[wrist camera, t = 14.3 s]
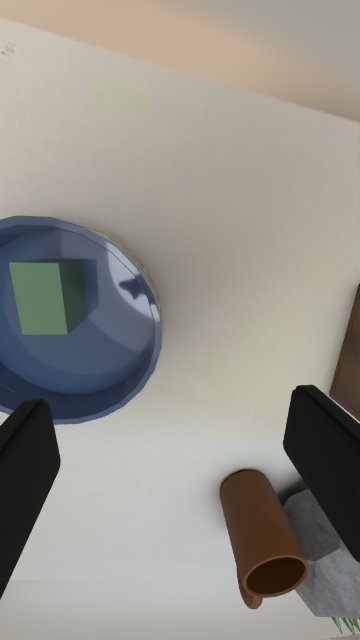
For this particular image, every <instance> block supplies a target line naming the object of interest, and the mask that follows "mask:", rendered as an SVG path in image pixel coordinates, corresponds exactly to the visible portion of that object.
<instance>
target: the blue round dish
mask: <svg viewBox="0 0 360 640" xmlns="http://www.w3.org/2000/svg"><path fill="white" fill-rule="evenodd" d="M43 259H44V260H81V261H82V271H83V281H84V291H85V302H86V312H87V317H86V318H85V319H84V320H83V321H82V322H81V323H80V324H79V325H77V326H76V327H75V328H74V329H73V330H72V331H71V332H70V333H69V334H67V335H22V330H21V325H20V320H19V315H18V309H17V304H16V299H15V294H14V289H13V283H12V278H11V273H10V268H9V262H16V261H30V260H43ZM160 350H161V309H160V305H159V301H158V297H157V294H156V290H155V288H154V286H153V284H152V282H151V280H150V278H149V276H148V275H147V273H146V272H145V270H144V268H143V267H142V265H141V264H140V263H139V262H138V261H137V260H136V259H135V258H134V256H132V255H131V254H130V253H129V252H128V251H127V250H126V249H125V248H124V247H123V246H121V245H120V244H118V243H116V242H115V241H114V240H112V239H110V238H108V237H106V236H105V235H103V234H102V233H100V232H97V231H94V230H91V229H88V228H85V227H82V226H78V225H75V224H72V223H69V222H66V221H62V220H59V219H56V218H52V217H36V216H13V217H9V218H5V219H1V220H0V411H1V412H4V413H6V414H9V415H11V414H12V413H13V411H14V410H15V409H16V408H17V407H18V406H19V405H20V404H21V403H22V402H23V401H24V400H34V399H43V400H44V401H45V403H49V405H50V409H51V414H52V419H53V424H54V425H59V424H78V423H83V422H87V421H91V420H94V419H98V418H102V417H104V416H106V415H108V414H110V413H112V412H114V411H116V410H118V409H120V408H122V407H123V406H125V405H126V404H127V403H128V402H129V401H130V400H131V399H132V398H134V397H135V396H136V395H137V394H138V393H139V392H140V391H141V390H142V389H143V387H144V386H145V384H146V383H147V381H148V380H149V378H150V376H151V375H152V373H153V372H154V370H155V367H156V363H157V360H158V357H159V353H160Z"/></svg>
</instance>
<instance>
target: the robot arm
mask: <svg viewBox="0 0 360 640" xmlns="http://www.w3.org/2000/svg"><path fill="white" fill-rule="evenodd" d="M283 446H284V450H285V452H286V454H287V455H288V457H289V459H290V460H291V462H292V463H293V465H294V466H295V468H296V469H297V471H298V473H299V474H300V476H301V477H302V479H303V480H304V482H305V484H306V485H307V487H308V488H309V490H310V491H311V493H312V495H313V496H314V498H315V499H316V501H317V502H318V504H319V505H320V507H321V509H322V510H323V512H324V513H325V515H326V516H327V518H328V520H329V521H330V523H331V524H332V526H333V527H334V529H335V531H336V532H337V534H338V535H339V537H340V538H341V540H342V542H343V543H344V545H345V546H346V548H347V549H348V551H349V552H350V554H351V555H352V557H353V558H354V559H355V560H356V561H357V562H359V563H360V424H359V423H358V422H357V421H356V420H354V419H353V418H352V417H351V416H350V415H349V414H347V413H346V412H345V411H344V410H343V409H341V408H340V407H339V406H338V405H337V404H336V403H334V402H333V401H332V400H331V399H330V398H329V397H327V396H326V395H325V394H324V393H323V392H321V391H320V390H319V389H318V388H317V387H316V386H314V385H300V386H297V387H296V389H295V390H293V391H292V396H291V401H290V407H289V412H288V418H287V423H286V429H285V435H284V440H283ZM60 462H61V460H60V454H59V449H58V444H57V439H56V434H55V429H54V424H53V419H52V414H51V409H50V405H49V403H45V401H44V400H43V399H34V400H24V401H23V402H22V403H21V404H20V405H19V406H18V407H17V408H16V409H15V410H14V411H13V413H12V414H11V415H10V416H9V417H8V418H7V419H6V420H5V421H4V422H3V424H2V425H1V426H0V599H1V597H2V595H3V593H4V590H5V588H6V586H7V584H8V582H9V579H10V577H11V575H12V573H13V571H14V568H15V566H16V564H17V562H18V560H19V557H20V555H21V553H22V551H23V549H24V546H25V544H26V542H27V540H28V538H29V535H30V533H31V531H32V529H33V527H34V524H35V522H36V520H37V518H38V515H39V513H40V511H41V509H42V507H43V504H44V502H45V500H46V498H47V496H48V493H49V491H50V489H51V487H52V485H53V482H54V480H55V478H56V476H57V474H58V471H59V468H60ZM325 640H360V634H356V635H349V636H343V637H337V638H331V639H325Z"/></svg>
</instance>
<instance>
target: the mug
mask: <svg viewBox="0 0 360 640" xmlns="http://www.w3.org/2000/svg"><path fill="white" fill-rule="evenodd" d="M220 498H221V503H222V508H223V512H224V516H225V520H226V525H227V529H228V533H229V537H230V541H231V545H232V549H233V553H234V557H235V561H236V565H237V578H238V584H239V589H240V593H241V596H242V598H243V600H244V602H245V604H246V605H247V606H248V607H249V608H250V609H257V608H258V607H259V606H260V605H261V603H262V599H263V598H268V597H275V596H280V595H283V594H286V593H288V592H290V591H292V590H294V589H295V588H297V587H298V586H299V585H301V584H302V583H303V582H304V580H305V579H306V577H307V576H308V573H309V566H308V562H307V560H306V558H305V555H304V553H303V550H302V548H301V545H300V543H299V541H298V539H297V537H296V534H295V532H294V530H293V528H292V526H291V524H290V522H289V520H288V518H287V516H286V514H285V512H284V510H283V508H282V506H281V504H280V502H279V500H278V497H277V495H276V493H275V491H274V489H273V487H272V485H271V483H270V482H269V480H268V479H267V478H266V477H265V476H264V475H263V474H261V473H259V472H257V471H241V472H238V473H236V474H234V475H232V476H230V477H229V478H228V479H227V480H226V481H225V482H224V484H223V485H222V488H221V492H220Z"/></svg>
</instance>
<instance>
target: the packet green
mask: <svg viewBox="0 0 360 640" xmlns="http://www.w3.org/2000/svg"><path fill="white" fill-rule="evenodd" d="M9 268H10V273H11V278H12V283H13V289H14V294H15V299H16V304H17V309H18V315H19V320H20V325H21V330H22V335H67V334H69V333H70V332H71V331H72V330H73V329H74V328H75V327H76V326H77V325H79V324H80V323H81V322H82V321H83V320H84V319H85V318H86V317H87V312H86V302H85V291H84V281H83V271H82V261H81V260H44V259H43V260H30V261H16V262H9Z"/></svg>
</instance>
